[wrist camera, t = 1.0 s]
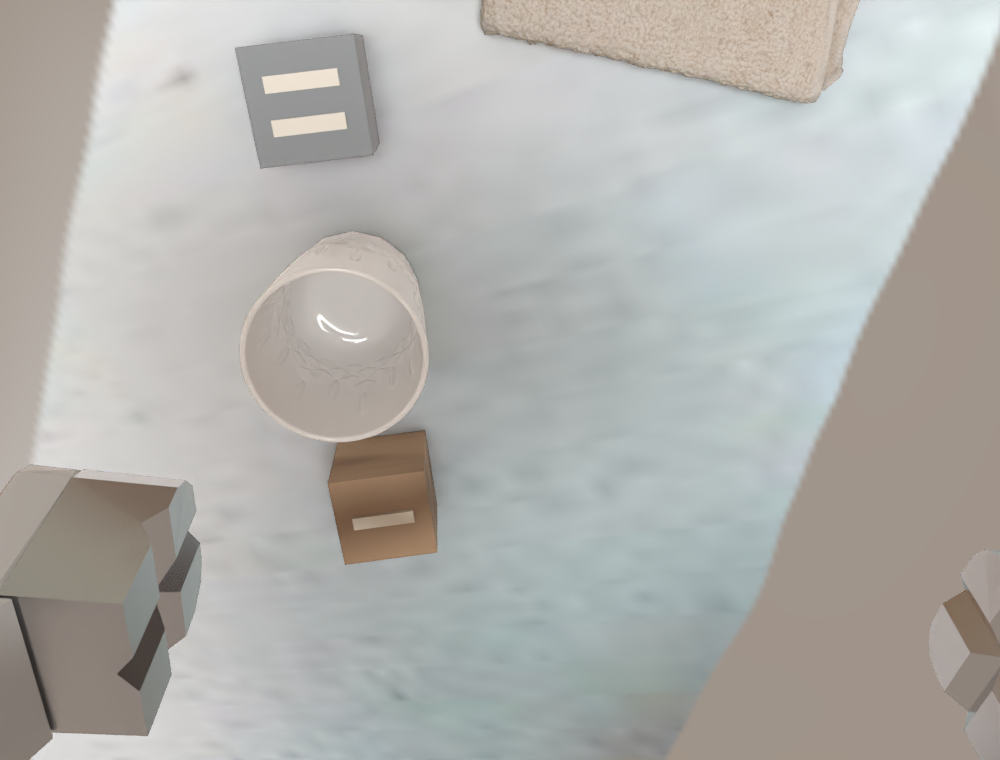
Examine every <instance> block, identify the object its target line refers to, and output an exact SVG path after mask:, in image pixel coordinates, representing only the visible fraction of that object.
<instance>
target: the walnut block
mask: <svg viewBox="0 0 1000 760" xmlns="http://www.w3.org/2000/svg"><path fill="white" fill-rule="evenodd" d="M328 487H329V492H330V497H331V501H332V506H333V511H334V515H335V520H336V525H337V530H338V534H339V539H340V544H341V548H342V553H343V558H344V562H345V565H347V564H354V563H362V562H369V561H376V560H384V559H391V558H399V557H406V556H414V555H421V554H429V553H436V552H437V502H436V496H435V490H434V483H433V477H432V471H431V464H430V458H429V452H428V445H427V439H426V433H425V430H424V431H417V432H409V433H401V434H394V435H386V436H378V437H371V438H366V439H362V440H357V441H351V442H338V444H337V448H336V452H335V456H334V460H333V464H332V468H331V472H330V476H329V480H328Z"/></svg>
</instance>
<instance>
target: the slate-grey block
mask: <svg viewBox="0 0 1000 760" xmlns="http://www.w3.org/2000/svg"><path fill="white" fill-rule="evenodd" d="M235 51H236V56H237V60H238V65H239V70H240V74H241V79H242V84H243V88H244V93H245V98H246V103H247V107H248V112H249V117H250V121H251V126H252V131H253V135H254V140H255V145H256V149H257V154H258V159H259V164H260V168H269V167H278V166H286V165H294V164H303V163H311V162H319V161H327V160H336V159H344V158H352V157H361V156H369V155H373V154H374V152H375V150H376V149H377V147H378V145H379V136H378V130H377V124H376V117H375V111H374V105H373V98H372V92H371V86H370V79H369V73H368V67H367V61H366V54H365V48H364V42H363V35H357V34H349V35H340V36H331V37H323V38H314V39H306V40H297V41H289V42H280V43H271V44H263V45H254V46H246V47H237V48H235Z"/></svg>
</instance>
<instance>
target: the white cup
mask: <svg viewBox="0 0 1000 760" xmlns="http://www.w3.org/2000/svg"><path fill="white" fill-rule="evenodd" d="M239 353H240V363H241V369H242V373H243V376H244V379H245V382H246V384H247V386H248V388H249V390H250V392H251V394H252V395H253V397H254V399H255V400H256V401H257V403H258V404H259V405H260V406H261V408H262V409H263V410H264V411H265V412H266V413H267V414H268V415H269V416H270V417H271V418H273V419H274V420H275V421H276V422H278V423H279V424H281V425H282V426H284V427H285V428H287V429H289V430H291V431H293V432H295V433H297V434H299V435H302V436H305V437H308V438H311V439H315V440H320V441H326V442H351V441H357V440H362V439H366V438H369V437H372V436H374V435H377V434H379V433H381V432H383V431H385V430H387V429H389V428H390V427H392V426H393V425H395V424H396V423H397V422H398V421H400V420H401V419H402V418H403V417H404V416H405V415H406V414H407V413H408V412H409V411H410V409H411V408H412V407H413V406H414V404H415V403H416V401H417V399H418V398H419V396H420V394H421V392H422V390H423V387H424V384H425V381H426V378H427V373H428V365H429V351H428V343H427V335H426V325H425V315H424V309H423V304H422V298H421V294H420V291H419V288H418V280H417V278H416V276H415V274H414V272H413V270H412V268H411V267H410V265H409V263H408V261H407V259H406V257H405V255H404V254H402V253H401V252H400V251H398V250H397V249H396V248H394V247H393V246H392V245H390V244H389V243H388V242H386V241H385V240H384V239H382V238H381V237H377V236H373V235H368V234H363V233H359V232H354V231H350V232H346V233H341V234H337V235H333V236H328V237H324V238H322V239H321V240H320V241H319V242H318V243H316V244H315V245H314V246H313V247H312V248H310V249H309V250H307V251H306V252H304V253H303V254H301V255H300V256H299V257H298V258H297V259H296V260H295V261H294V262H293V263H292V264H291V265H289V266H288V267H287V268H286V269H285V270H284V271H283V272H282V273H281V274H280V275H279V276H278V277H277V279H276V280H275V281H274V282H273V283H272V284H271V285H270V286H269V288H268V289H267V290H266V291H265V292H264V293H263V294H262V295H261V296H260V297H259V298H258V300H257V301H256V302H255V304H254V305H253V306H252V308H251V310H250V311H249V313H248V315H247V317H246V320H245V322H244V325H243V328H242V332H241V337H240V347H239Z"/></svg>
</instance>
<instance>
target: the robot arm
mask: <svg viewBox="0 0 1000 760" xmlns="http://www.w3.org/2000/svg"><path fill="white" fill-rule="evenodd" d="M195 512H196V506H195V499H194V493H193V486H192V485H191V484H190V483H188V482H187V481H185V480H176V479H167V478H158V477H149V476H140V475H130V474H121V473H112V472H103V471H94V470H85V469H84V470H82V471H81V470H74V469H65V468H56V467H48V466H39V465H29V466H27V467H25V468H23V469H22V470H20V471H18V472H17V473H16V474H14V476H13V477H12V478H11V480H10V481H9V482H8V484H7V485H6V487H5V488H4V489H3V491H2V492H1V493H0V760H29V759H30V758H31V757H32V756H34V755H35V754H36V753H37V752H38V751H39V750H40V749H41V748H42V747H44V746H45V745H46V744H47V743H48V742H49V741H50V740H51V739H52V738H53V735H52V732H55V733H82V734H109V735H136V736H148V734H149V732H150V729H151V726H152V724H153V721H154V719H155V716H156V713H157V711H158V708H159V705H160V703H161V700H162V698H163V695H164V692H165V690H166V687H167V685H168V682H169V679H170V677H171V668H170V661H169V654H168V649H169V648H171V647H172V646H173V645H174V644H176V643H177V642H178V641H180V640H181V639H182V638H184V637H185V636H186V634H187V631H188V629H189V626H190V623H191V620H192V617H193V615H194V612H195V607H196V602H197V597H198V592H199V588H200V583H201V551H200V543H199V542H198V541H197V540H196V539H195V538H194V537H193V536H192V535H191V534H190V533H189V532H188V529H189V527H190V524H191V522H192V520H193V517H194V515H195ZM960 575H961V579H962V582H963V585H964V588H965V590H964V591H963V592H961V593H960V594H958V595H956V596H954V597H953V598H951V599H950V600H948V601H946V602H944V603H943V604H942V606H941V607H940V609H939V611H938V613H937V615H936V616H935V618H934V620H933V622H932V624H931V628H930V643H929V644H930V645H929V652H930V655H931V660H932V664H933V669H934V671H935V673H936V675H937V677H938V679H939V681H940V683H941V685H942V688H943V690H944V691H945V692H946V693H947V694H948V695H950V696H951V697H952V698H953V699H954V700H955V701H956V702H958V703H959V704H960V705H961V706H963V707H964V708H965V709H966V710H967V711H968V715H967V719H966V724H965V728H964V730H965V732H966V734H967V736H968V738H969V740H970V742H971V743H972V745H973V747H974V749H975V751H976V753H977V755H978V757H979V759H980V760H1000V551H996V550H983V551H982V552H980V553H979V554H977V555H975V556H974V557H972V558H971V559H970V561H969V562H968V564H967V565H966V567H965V568H964V570H963V571H962V573H961V574H960Z"/></svg>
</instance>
